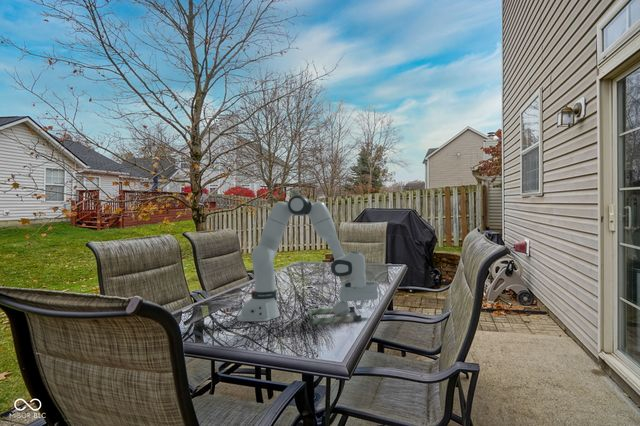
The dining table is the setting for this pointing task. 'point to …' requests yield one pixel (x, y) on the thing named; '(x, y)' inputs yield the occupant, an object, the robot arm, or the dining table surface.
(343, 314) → the die
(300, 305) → the dining table surface
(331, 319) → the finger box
